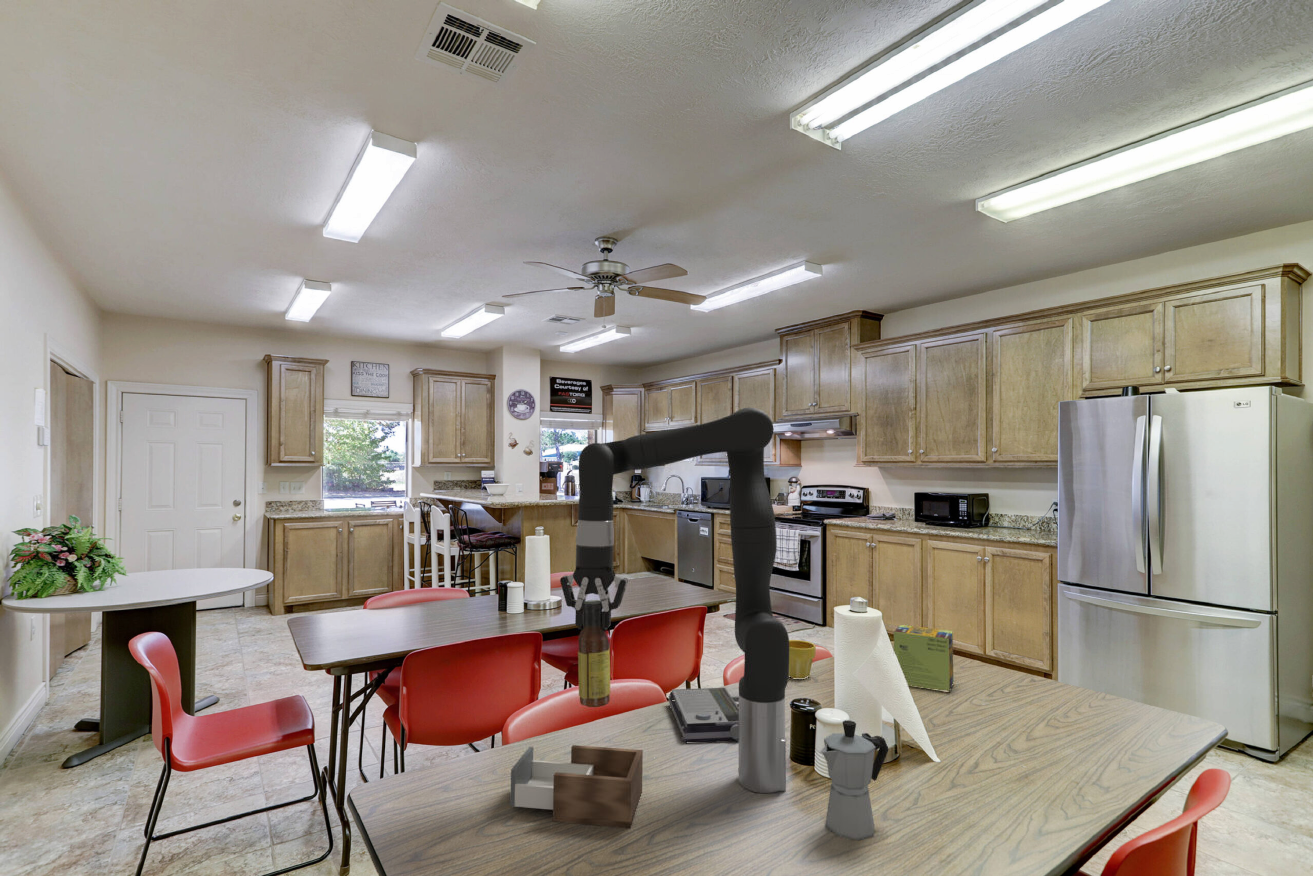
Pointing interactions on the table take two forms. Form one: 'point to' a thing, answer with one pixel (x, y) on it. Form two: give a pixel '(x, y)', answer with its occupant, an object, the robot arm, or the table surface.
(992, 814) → the table surface
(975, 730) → the table surface
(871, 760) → the coffee maker
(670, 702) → the radio
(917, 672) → the protein box
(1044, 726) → the table surface
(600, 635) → the sauce bottle
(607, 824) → the caddy
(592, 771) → the tray
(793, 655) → the plant pot
